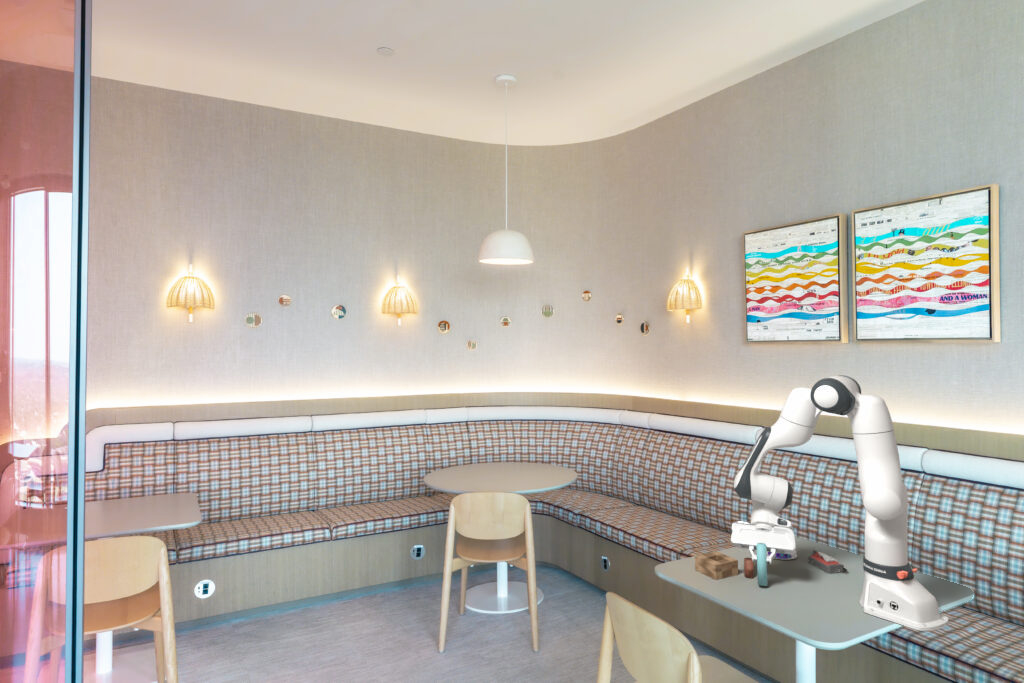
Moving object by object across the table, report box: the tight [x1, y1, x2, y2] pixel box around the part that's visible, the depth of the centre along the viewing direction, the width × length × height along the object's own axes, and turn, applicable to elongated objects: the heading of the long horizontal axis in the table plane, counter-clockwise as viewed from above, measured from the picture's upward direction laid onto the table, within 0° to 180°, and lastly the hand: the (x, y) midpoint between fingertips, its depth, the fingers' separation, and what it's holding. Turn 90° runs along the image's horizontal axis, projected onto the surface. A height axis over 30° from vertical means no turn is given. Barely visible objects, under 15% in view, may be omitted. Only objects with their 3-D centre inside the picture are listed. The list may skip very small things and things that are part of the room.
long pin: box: [756, 543, 768, 587], centre depth 200 cm, size 3×3×13 cm
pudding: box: [767, 552, 798, 561], centre depth 228 cm, size 12×12×5 cm
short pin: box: [743, 557, 755, 579], centre depth 208 cm, size 3×3×6 cm
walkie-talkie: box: [807, 549, 848, 575], centre depth 219 cm, size 9×4×20 cm
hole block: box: [694, 551, 739, 581], centre depth 213 cm, size 10×10×5 cm
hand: (761, 562), depth 199 cm, fingers closed on long pin, 3 cm apart
